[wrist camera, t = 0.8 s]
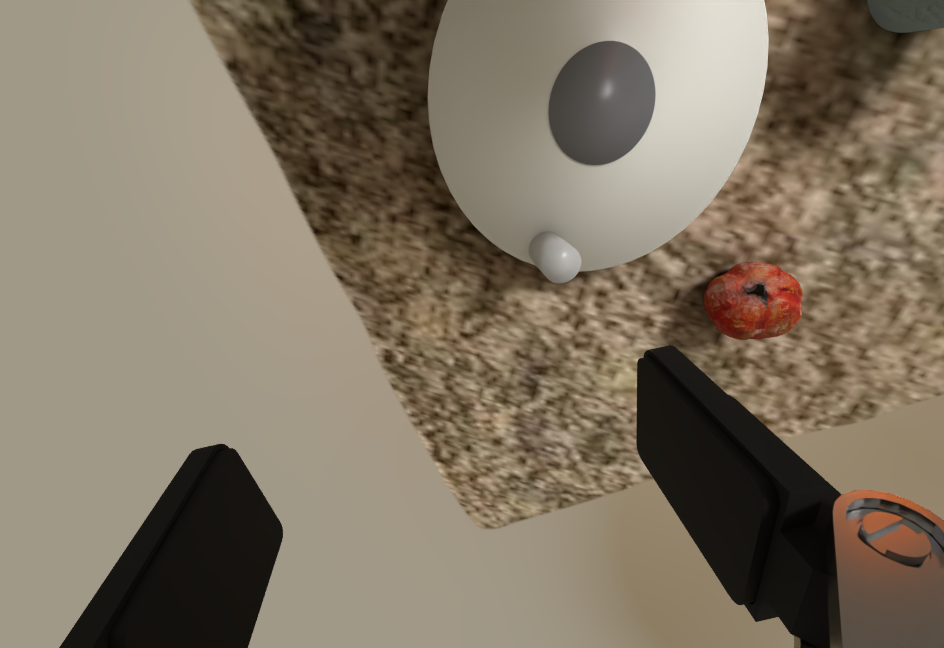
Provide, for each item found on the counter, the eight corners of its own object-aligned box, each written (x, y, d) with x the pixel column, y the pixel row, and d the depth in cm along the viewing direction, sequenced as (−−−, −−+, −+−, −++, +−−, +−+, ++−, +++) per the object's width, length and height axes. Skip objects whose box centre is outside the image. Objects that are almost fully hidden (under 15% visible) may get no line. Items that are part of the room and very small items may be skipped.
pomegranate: (755, 278, 43) (791, 226, 34) (796, 339, 40) (848, 299, 31) (684, 304, 45) (701, 260, 36) (719, 366, 42) (747, 334, 33)
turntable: (486, -181, 24) (513, -297, 18) (795, -12, 30) (904, -51, 23) (393, 215, 33) (388, 238, 27) (643, 287, 39) (690, 321, 33)
